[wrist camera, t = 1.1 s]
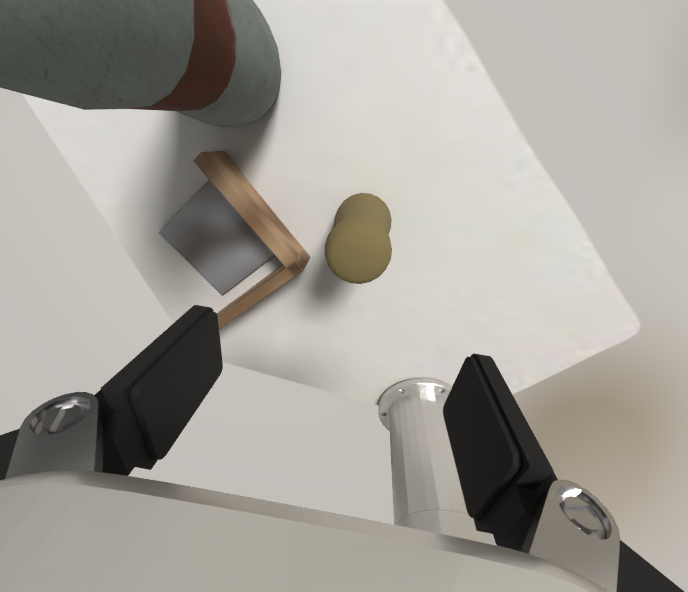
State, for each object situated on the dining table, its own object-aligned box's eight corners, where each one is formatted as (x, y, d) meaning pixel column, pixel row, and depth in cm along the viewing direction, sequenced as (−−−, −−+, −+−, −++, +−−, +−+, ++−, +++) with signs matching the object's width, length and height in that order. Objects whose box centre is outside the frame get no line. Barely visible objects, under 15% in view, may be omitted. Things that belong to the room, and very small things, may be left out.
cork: (338, 251, 32) (322, 297, 22) (331, 196, 29) (309, 221, 19) (392, 247, 31) (399, 293, 21) (390, 190, 28) (397, 212, 18)
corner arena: (310, 257, 32) (302, 270, 29) (225, 317, 38) (210, 335, 34) (223, 151, 28) (201, 151, 24) (141, 237, 33) (114, 248, 30)
